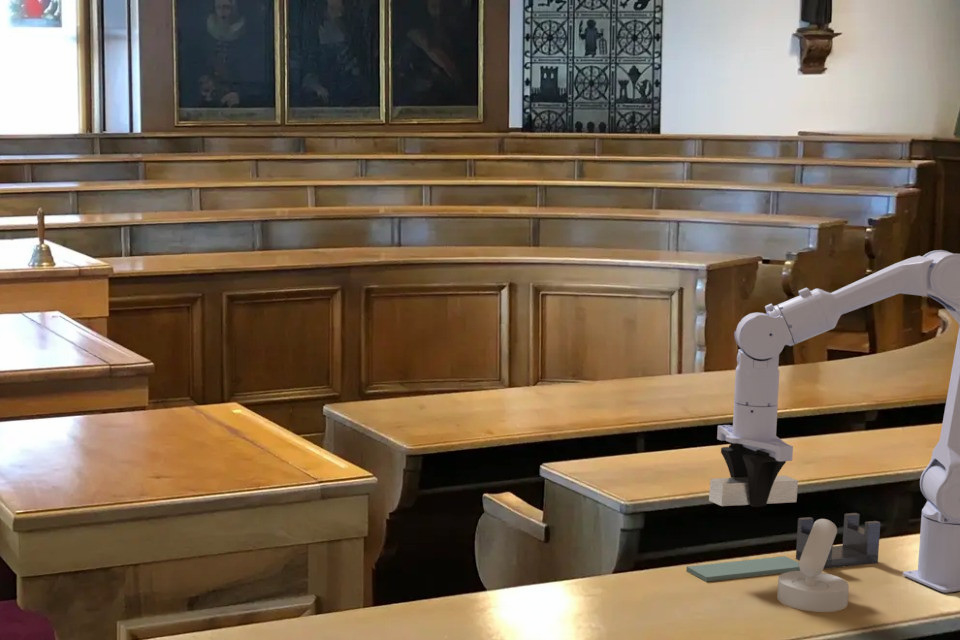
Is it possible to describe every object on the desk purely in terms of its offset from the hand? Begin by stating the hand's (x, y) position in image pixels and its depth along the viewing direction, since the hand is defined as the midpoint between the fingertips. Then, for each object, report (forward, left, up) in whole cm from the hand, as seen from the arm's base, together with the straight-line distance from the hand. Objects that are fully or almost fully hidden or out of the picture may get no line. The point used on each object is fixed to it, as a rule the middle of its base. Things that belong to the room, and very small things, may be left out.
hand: (750, 502), depth 172 cm
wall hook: (-2, +13, -10) cm, 16 cm away
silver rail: (0, 0, 0) cm, 0 cm away
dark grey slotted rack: (-15, 0, -9) cm, 18 cm away
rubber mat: (0, 0, -9) cm, 9 cm away
